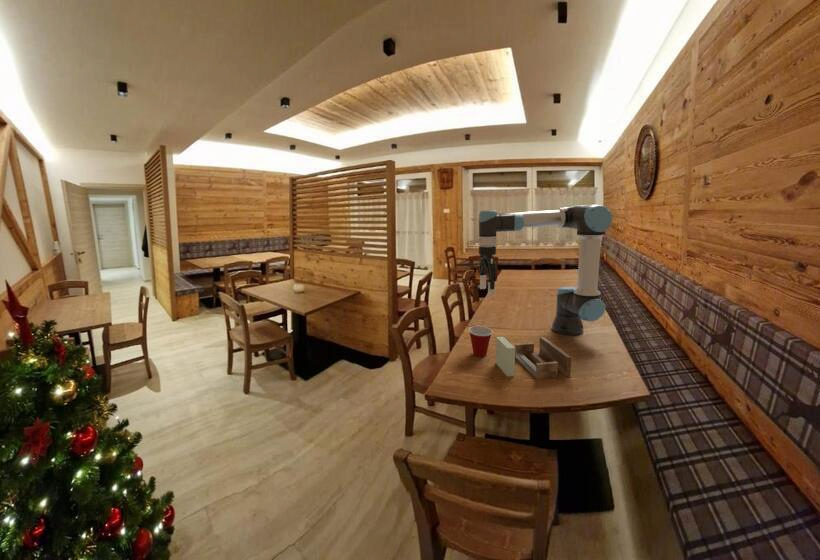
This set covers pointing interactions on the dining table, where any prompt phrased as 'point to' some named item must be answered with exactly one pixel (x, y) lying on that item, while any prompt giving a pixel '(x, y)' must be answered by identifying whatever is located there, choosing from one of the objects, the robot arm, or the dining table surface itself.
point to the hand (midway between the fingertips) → (486, 292)
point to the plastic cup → (480, 339)
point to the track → (543, 369)
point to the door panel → (505, 356)
